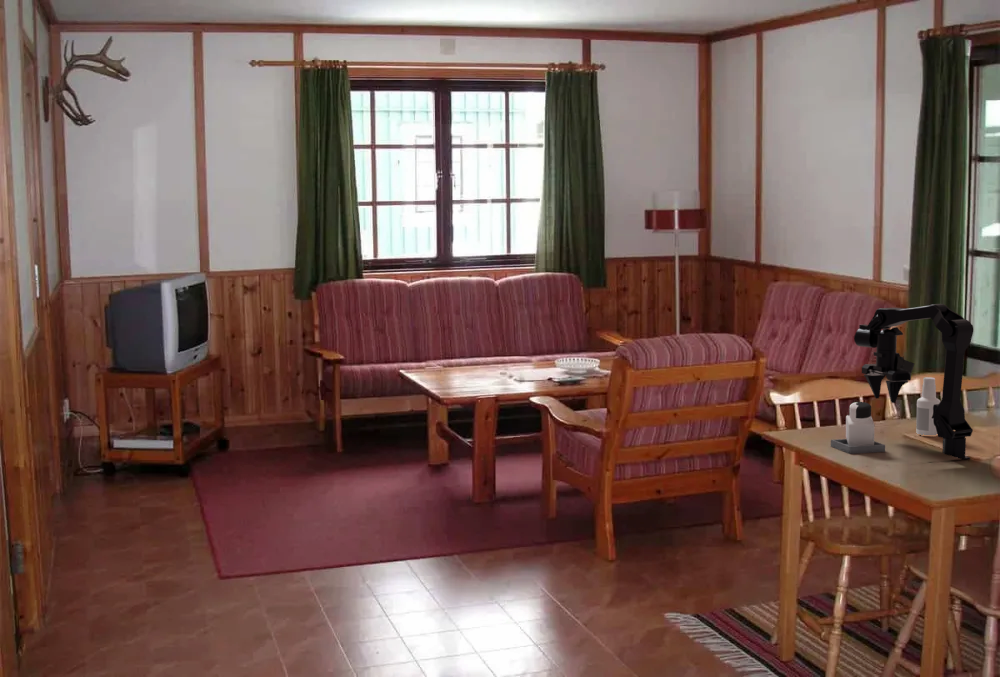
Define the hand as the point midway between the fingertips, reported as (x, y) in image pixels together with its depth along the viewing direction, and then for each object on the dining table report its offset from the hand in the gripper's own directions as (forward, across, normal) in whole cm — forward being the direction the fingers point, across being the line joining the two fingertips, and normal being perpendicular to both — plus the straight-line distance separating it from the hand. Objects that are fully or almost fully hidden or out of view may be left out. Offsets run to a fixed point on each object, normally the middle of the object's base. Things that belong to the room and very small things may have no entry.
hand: (885, 400), depth 361 cm
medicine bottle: (+10, -10, +14) cm, 20 cm away
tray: (+12, -11, +15) cm, 22 cm away
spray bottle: (+12, +2, -16) cm, 20 cm away
